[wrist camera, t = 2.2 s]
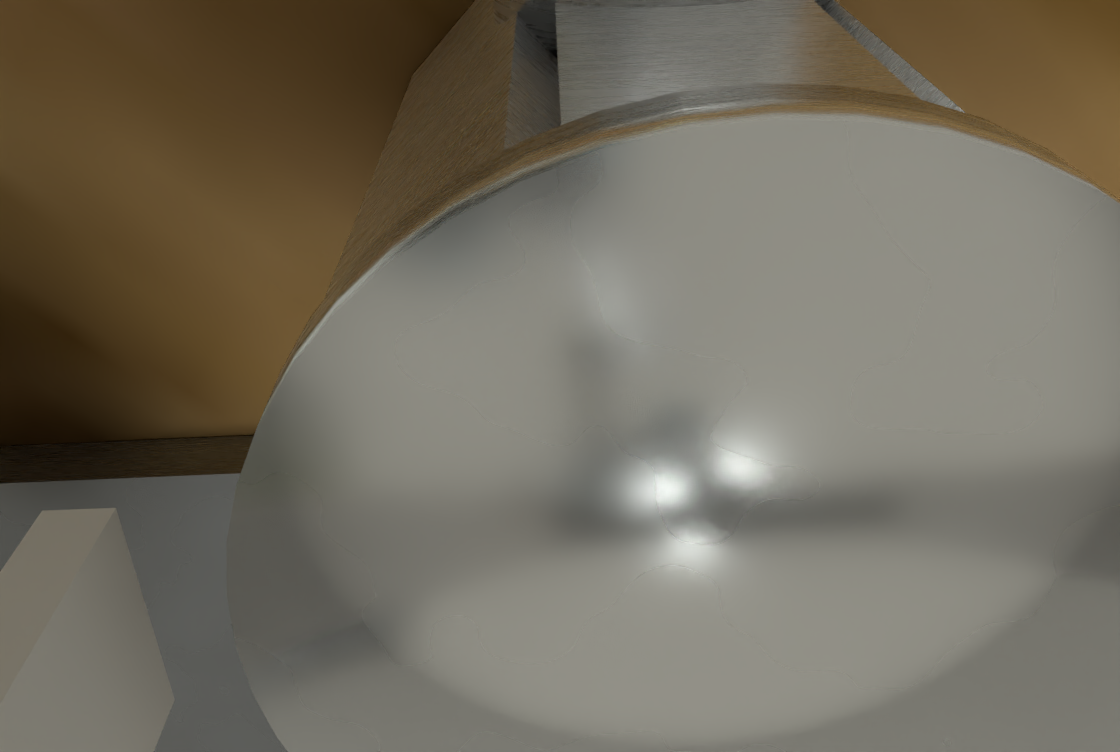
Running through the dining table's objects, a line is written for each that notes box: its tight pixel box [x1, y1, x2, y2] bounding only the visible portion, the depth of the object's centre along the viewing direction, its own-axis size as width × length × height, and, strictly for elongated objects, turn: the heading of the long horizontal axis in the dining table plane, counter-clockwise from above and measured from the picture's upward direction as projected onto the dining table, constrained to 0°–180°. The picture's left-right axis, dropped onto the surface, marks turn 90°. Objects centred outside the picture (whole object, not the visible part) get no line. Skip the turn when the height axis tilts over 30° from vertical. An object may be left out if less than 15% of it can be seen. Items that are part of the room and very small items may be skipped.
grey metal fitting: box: [226, 0, 1120, 752], centre depth 14 cm, size 17×10×13 cm, turn 2°
